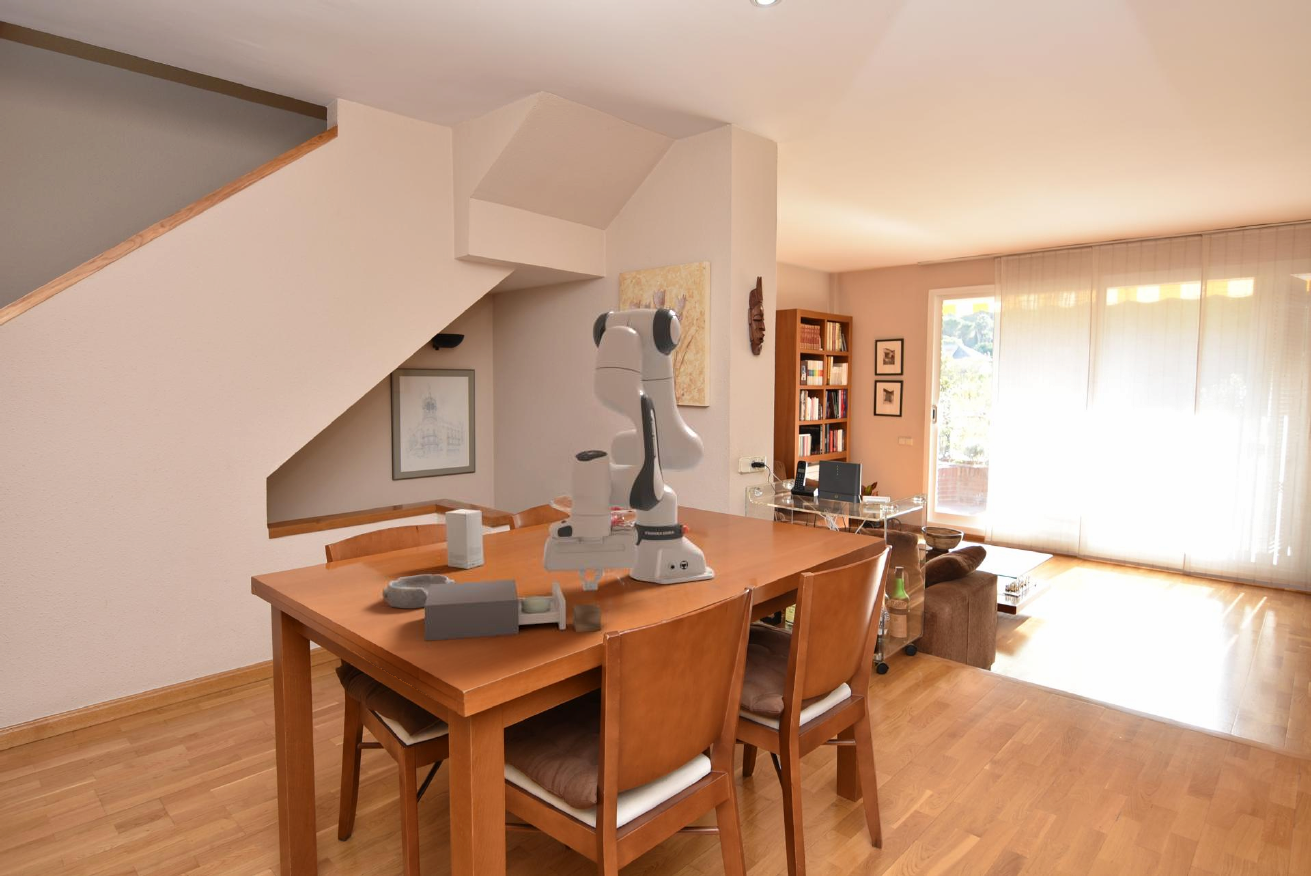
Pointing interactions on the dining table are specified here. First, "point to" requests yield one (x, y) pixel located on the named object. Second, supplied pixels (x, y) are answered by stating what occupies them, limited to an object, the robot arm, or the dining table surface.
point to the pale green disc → (535, 605)
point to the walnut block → (586, 617)
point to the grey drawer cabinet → (471, 610)
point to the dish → (412, 590)
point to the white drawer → (553, 615)
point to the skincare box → (464, 538)
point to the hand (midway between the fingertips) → (590, 589)
